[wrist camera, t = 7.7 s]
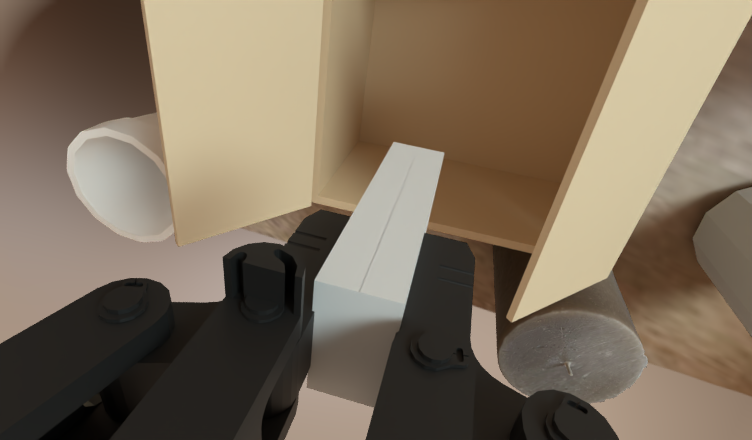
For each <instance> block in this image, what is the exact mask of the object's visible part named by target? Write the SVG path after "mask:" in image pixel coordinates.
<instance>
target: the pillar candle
mask: <svg viewBox="0 0 752 440" xmlns="http://www.w3.org/2000/svg"><path fill="white" fill-rule="evenodd" d="M531 255H532V253H528V252H523V251H519V250H515V249H510V248H506V247H502V246H498V245H494V246H493V261H494V288H495V306H496V331H497V332H496V333H497V355H498V364H499V367H500V370H501V372H502V374H503V375H504V377H505V378H506V379H507V380H508V382H509V383H510V384H511V385H512V386H513V387H515V388H516V389H518V390H519V391H521V392H522V393H524V394H526V395H528V396H531V395H533V394H534V393H536V392H537V391H542V390H552V389H554V390H558V391H562V392H566V393H570V394H572V395H574V396H576V397H578V398H580V399H581V400H583V401H585V402H587V403H595V402H604V401H605V400H606V399H610V398H614V397H616V396H617V395H619V394H620V393H622V392H623V391H625V390H626V389H627V388H630V387H631V385H633V384H634V383H635V381H636V380H637V379H638V378H639V377H640V375H641V373H642V371H643V368H645V367H646V365H647V364H648V361H647V357H646V356H645V355H644V350H643V347H642V343H641V341H640V339H639V336H638V334H637V331H636V329H635V326H634V324H633V322H632V319H631V316H630V313H629V311H628V308H627V306H626V304H625V302H624V300H623V297H622V294H621V292H620V290H619V287H618V285H617V282H616V279H615V276H614V274H613V271H612V270H611V272H610V274H609V276H608V278H606V279H604V280H602V281H600V282H597V283H595V284H593V285H591V286H589V287H587V288H585V289H582V290H580V291H578V292H576V293H574V294H572V295H570V296H567V297H565V298H563V299H561V300H559V301H557V302H555V303H553V304H550V305H548V306H546V307H544V308H542V309H540V310H538V311H535V312H533V313H531V314H529V315H527V316H525V317H523V318H520V319H518V320H516V321H514V322H510V321H509V320H508V319H507V318H506V316H507V314H508V311H509V309H510V306H511V304H512V302H513V299H514V297H515V294H516V292H517V289H518V287H519V285H520V282H521V280H522V277H523V275H524V272H525V270H526V268H527V265H528V263H529V260H530V258H531Z"/></svg>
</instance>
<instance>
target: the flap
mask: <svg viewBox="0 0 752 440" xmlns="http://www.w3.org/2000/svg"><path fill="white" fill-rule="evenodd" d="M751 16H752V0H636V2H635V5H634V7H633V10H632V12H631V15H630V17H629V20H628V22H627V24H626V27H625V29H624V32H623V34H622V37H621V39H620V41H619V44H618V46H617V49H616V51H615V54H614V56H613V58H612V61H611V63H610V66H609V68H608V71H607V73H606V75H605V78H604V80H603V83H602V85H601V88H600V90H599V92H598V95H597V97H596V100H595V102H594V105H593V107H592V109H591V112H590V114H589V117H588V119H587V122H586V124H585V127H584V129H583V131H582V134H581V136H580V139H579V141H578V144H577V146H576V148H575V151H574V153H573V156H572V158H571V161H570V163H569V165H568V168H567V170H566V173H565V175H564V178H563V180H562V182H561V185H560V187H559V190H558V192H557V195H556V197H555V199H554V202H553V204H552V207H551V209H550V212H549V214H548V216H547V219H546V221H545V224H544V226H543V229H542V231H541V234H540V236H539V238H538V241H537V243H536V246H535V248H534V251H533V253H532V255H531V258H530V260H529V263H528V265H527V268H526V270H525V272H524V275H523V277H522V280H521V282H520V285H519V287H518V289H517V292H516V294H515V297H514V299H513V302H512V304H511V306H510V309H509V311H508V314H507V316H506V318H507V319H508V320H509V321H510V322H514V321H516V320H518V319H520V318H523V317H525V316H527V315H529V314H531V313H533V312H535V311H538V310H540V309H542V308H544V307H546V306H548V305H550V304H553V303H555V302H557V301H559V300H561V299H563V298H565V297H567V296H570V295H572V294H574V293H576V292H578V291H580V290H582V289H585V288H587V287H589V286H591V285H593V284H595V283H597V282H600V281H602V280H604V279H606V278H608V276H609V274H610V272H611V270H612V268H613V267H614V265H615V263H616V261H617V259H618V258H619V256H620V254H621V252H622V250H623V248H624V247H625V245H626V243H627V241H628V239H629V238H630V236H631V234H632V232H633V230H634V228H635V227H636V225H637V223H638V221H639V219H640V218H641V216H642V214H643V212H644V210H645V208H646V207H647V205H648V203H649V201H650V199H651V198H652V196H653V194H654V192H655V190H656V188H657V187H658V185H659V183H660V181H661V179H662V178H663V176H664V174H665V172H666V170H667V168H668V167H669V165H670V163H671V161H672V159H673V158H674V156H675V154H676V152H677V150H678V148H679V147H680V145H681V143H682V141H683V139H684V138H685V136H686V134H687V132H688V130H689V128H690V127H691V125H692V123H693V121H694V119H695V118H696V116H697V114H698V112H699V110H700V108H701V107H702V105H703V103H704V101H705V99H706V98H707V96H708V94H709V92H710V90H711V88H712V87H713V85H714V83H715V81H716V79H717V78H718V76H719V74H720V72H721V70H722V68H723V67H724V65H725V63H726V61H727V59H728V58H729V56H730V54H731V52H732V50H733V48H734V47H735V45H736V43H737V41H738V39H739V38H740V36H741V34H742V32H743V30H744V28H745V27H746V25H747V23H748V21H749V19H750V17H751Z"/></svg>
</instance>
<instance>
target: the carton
mask: <svg viewBox="0 0 752 440" xmlns="http://www.w3.org/2000/svg"><path fill="white" fill-rule="evenodd" d="M635 2H636V0H323V16H322V33H321V49H320V66H319V82H318V99H317V116H316V132H315V149H314V166H313V182H312V199H311V202H313V203H318V204H322V205H326V206H330V207H335V208H339V209H343V210H348V211H352V212H354V210H355V209H356V207H357V205H358V203H359V202H360V200H361V198H362V196H363V195H364V193H365V191H366V189H367V188H368V186H369V184H370V182H371V181H372V179H373V177H374V175H375V174H376V172H377V170H378V168H379V167H380V165H381V163H382V161H383V160H384V158H385V156H386V154H387V153H388V151H389V149H390V148H391V146H392V144H393V142H397V143H402V144H406V145H411V146H416V147H420V148H425V149H430V150H434V151H439V152H444V157H443V162H442V166H441V170H440V175H439V179H438V183H437V187H436V192H435V196H434V200H433V205H432V209H431V213H430V217H429V222H428V226H427V229H429V230H433V231H438V232H442V233H446V234H450V235H455V236H459V237H463V238H468V239H472V240H476V241H480V242H485V243H489V244H493V245H498V246H502V247H506V248H510V249H515V250H519V251H523V252H528V253H533V251H534V248H535V246H536V243H537V241H538V238H539V236H540V234H541V231H542V229H543V226H544V224H545V221H546V219H547V216H548V214H549V212H550V209H551V207H552V204H553V202H554V199H555V197H556V195H557V192H558V190H559V187H560V185H561V182H562V180H563V178H564V175H565V173H566V170H567V168H568V165H569V163H570V161H571V158H572V156H573V153H574V151H575V148H576V146H577V144H578V141H579V139H580V136H581V134H582V131H583V129H584V127H585V124H586V122H587V119H588V117H589V114H590V112H591V109H592V107H593V105H594V102H595V100H596V97H597V95H598V92H599V90H600V88H601V85H602V83H603V80H604V78H605V75H606V73H607V71H608V68H609V66H610V63H611V61H612V58H613V56H614V54H615V51H616V49H617V46H618V44H619V41H620V39H621V37H622V34H623V32H624V29H625V27H626V24H627V22H628V20H629V17H630V15H631V12H632V10H633V7H634V5H635Z"/></svg>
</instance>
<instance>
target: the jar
mask: <svg viewBox="0 0 752 440" xmlns="http://www.w3.org/2000/svg"><path fill="white" fill-rule="evenodd" d="M693 243H694V248H695V252H696V257H697V262H698V263H699V264H700V266H701V267H702V269H703V270H704V271H705V273H706V274H707V276H708V277H709V278H710V280H711V281H712V282H713V284H714V285H715V287H716V288H717V289H718V291H719V292H720V294H721V295H722V296H723V298H724V299H725V301H726V302H727V303H728V305H729V306H730V308H731V309H732V310H733V312H734V313H735V315H736V316H737V317H738V319H739V320H740V321H741V323H742V324H743V326H744V327H745V328H746V330H747V331H748V333H749V334H750V335H751V337H752V187H750V188H746V189H742V190H738V191H736V192H734V193H733V194H731V195H730V196H729V197H727V198H726V199H724V200H723V201H722V202H720V203H719V204H717V205H716V206H715V207H713V208H712V209H710V210H709V211H708V212H706V214H705V215H704V217H703V219H702V221H701V223H700V225H699V227H698V229H697V231H696V233H695V235H694V236H693Z"/></svg>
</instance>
